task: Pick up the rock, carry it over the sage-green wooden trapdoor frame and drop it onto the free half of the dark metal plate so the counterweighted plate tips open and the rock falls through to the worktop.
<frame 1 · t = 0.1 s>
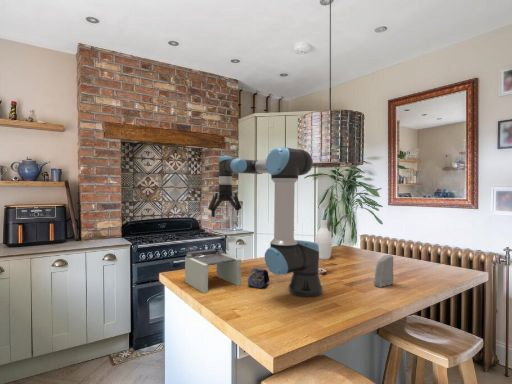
hand: (225, 222, 174), 28 cm above the worktop, fingers open, 13 cm apart
rock: (258, 285, 152), on the worktop
frame: (212, 283, 154), on the worktop
trapdoor: (210, 261, 156), point 10 cm above the worktop, hinge at 0.0°
decorative stone: (383, 285, 154), on the worktop
bottle: (323, 258, 213), on the worktop
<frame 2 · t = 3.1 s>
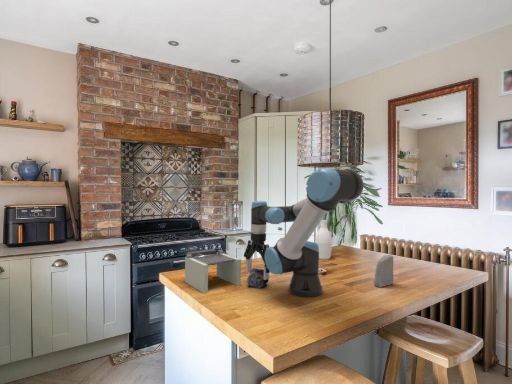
hand: (257, 275, 153), 4 cm above the worktop, fingers open, 13 cm apart
nothing on the worktop moved.
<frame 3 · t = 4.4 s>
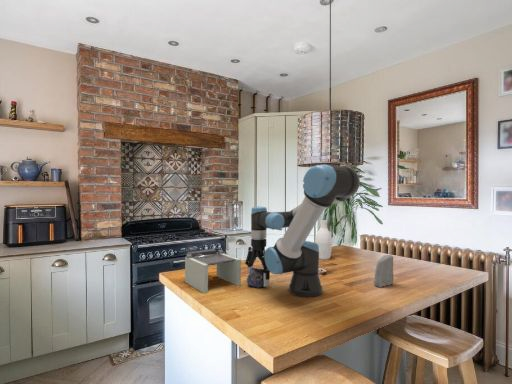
hand: (258, 282, 152), 1 cm above the worktop, fingers closed on rock, 12 cm apart
rock: (257, 285, 153), on the worktop, touching gripper
everything else where it was.
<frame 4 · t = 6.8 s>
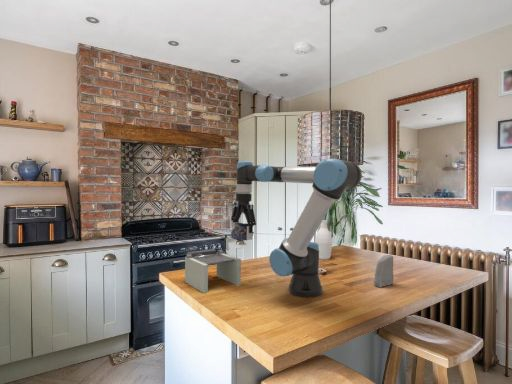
hand: (242, 237, 153), 23 cm above the worktop, fingers closed on rock, 12 cm apart
rock: (241, 239, 153), point 22 cm above the worktop, touching gripper
everything else where it was.
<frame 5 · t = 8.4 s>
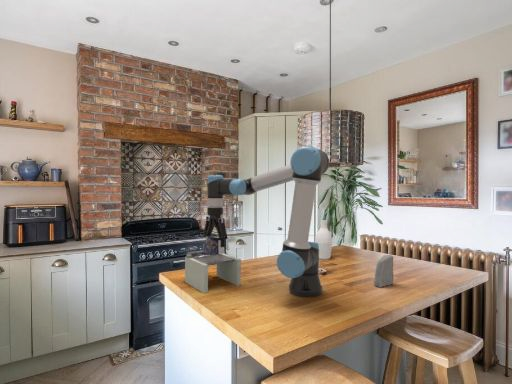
hand: (214, 251, 152), 16 cm above the worktop, fingers closed on rock, 12 cm apart
rock: (214, 253, 153), point 15 cm above the worktop, touching gripper
everything else where it was.
when the fingers open (16 cm above the worktop, at t = 9.2 s): rock drops 11 cm, resting on trapdoor.
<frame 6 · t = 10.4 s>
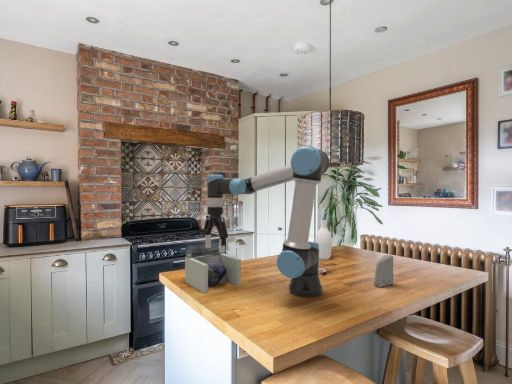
hand: (214, 250, 152), 17 cm above the worktop, fingers open, 13 cm apart
rock: (212, 274, 154), point 4 cm above the worktop, touching trapdoor
trapdoor: (207, 266, 158), point 7 cm above the worktop, hinge at -49.5°, touching rock
everything else where it was.
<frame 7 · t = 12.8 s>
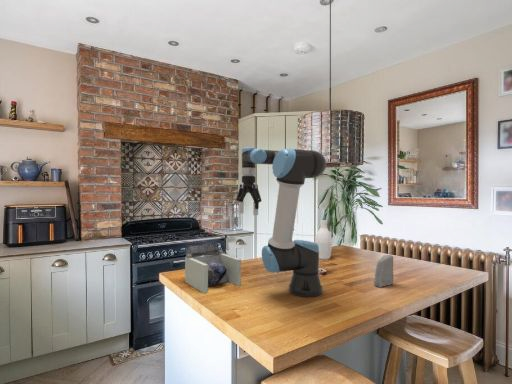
hand: (248, 214, 173), 33 cm above the worktop, fingers open, 13 cm apart
nothing on the worktop moved.
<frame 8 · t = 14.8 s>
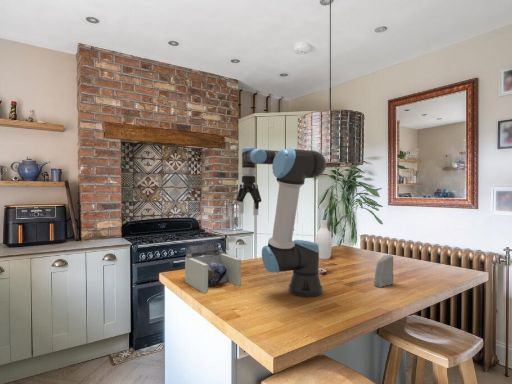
hand: (248, 214, 173), 33 cm above the worktop, fingers open, 13 cm apart
nothing on the worktop moved.
at the end: rock point 4.1 cm above the worktop; rock moved 23.2 cm from its start; the gripper is holding nothing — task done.
